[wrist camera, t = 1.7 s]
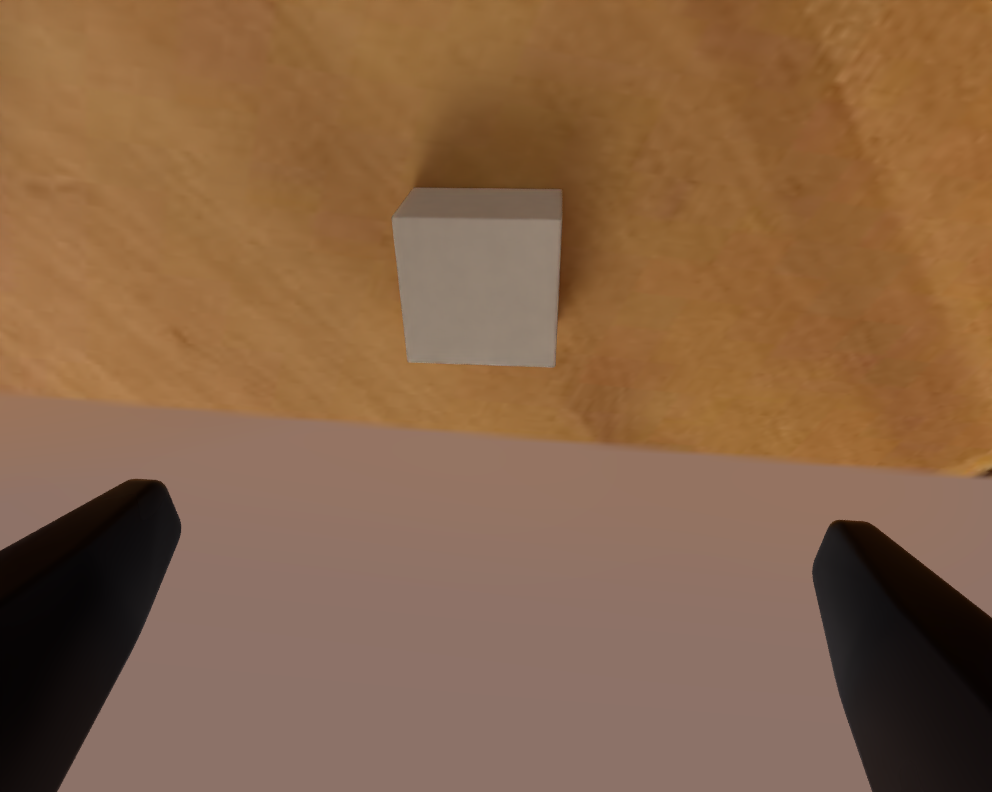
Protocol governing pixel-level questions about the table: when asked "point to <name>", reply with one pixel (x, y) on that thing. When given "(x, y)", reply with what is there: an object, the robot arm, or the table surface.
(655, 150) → the table surface
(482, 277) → the loose pad
